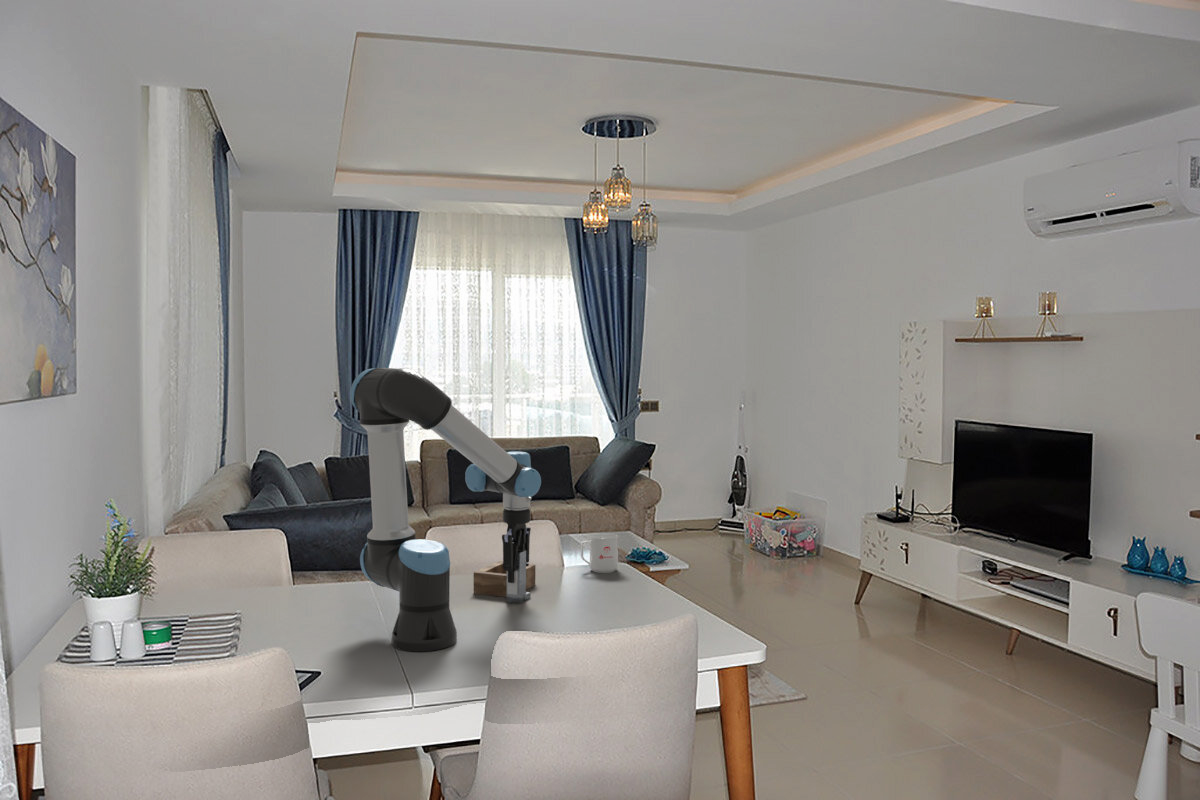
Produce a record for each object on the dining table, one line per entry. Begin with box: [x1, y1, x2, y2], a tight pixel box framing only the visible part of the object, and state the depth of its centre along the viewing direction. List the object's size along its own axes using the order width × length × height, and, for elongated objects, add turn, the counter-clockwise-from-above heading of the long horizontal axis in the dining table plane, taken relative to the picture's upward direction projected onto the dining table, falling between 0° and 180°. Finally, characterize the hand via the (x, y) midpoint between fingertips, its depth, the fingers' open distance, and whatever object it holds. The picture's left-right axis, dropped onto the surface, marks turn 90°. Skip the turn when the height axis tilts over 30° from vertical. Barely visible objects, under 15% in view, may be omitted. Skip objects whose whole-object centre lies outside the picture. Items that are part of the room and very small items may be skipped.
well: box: [473, 560, 536, 598], centre depth 269 cm, size 16×12×6 cm
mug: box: [580, 532, 619, 574], centre depth 292 cm, size 12×9×11 cm
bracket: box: [505, 550, 531, 605], centre depth 256 cm, size 7×4×14 cm, turn 159°
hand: (516, 591), depth 255 cm, fingers closed on bracket, 4 cm apart
